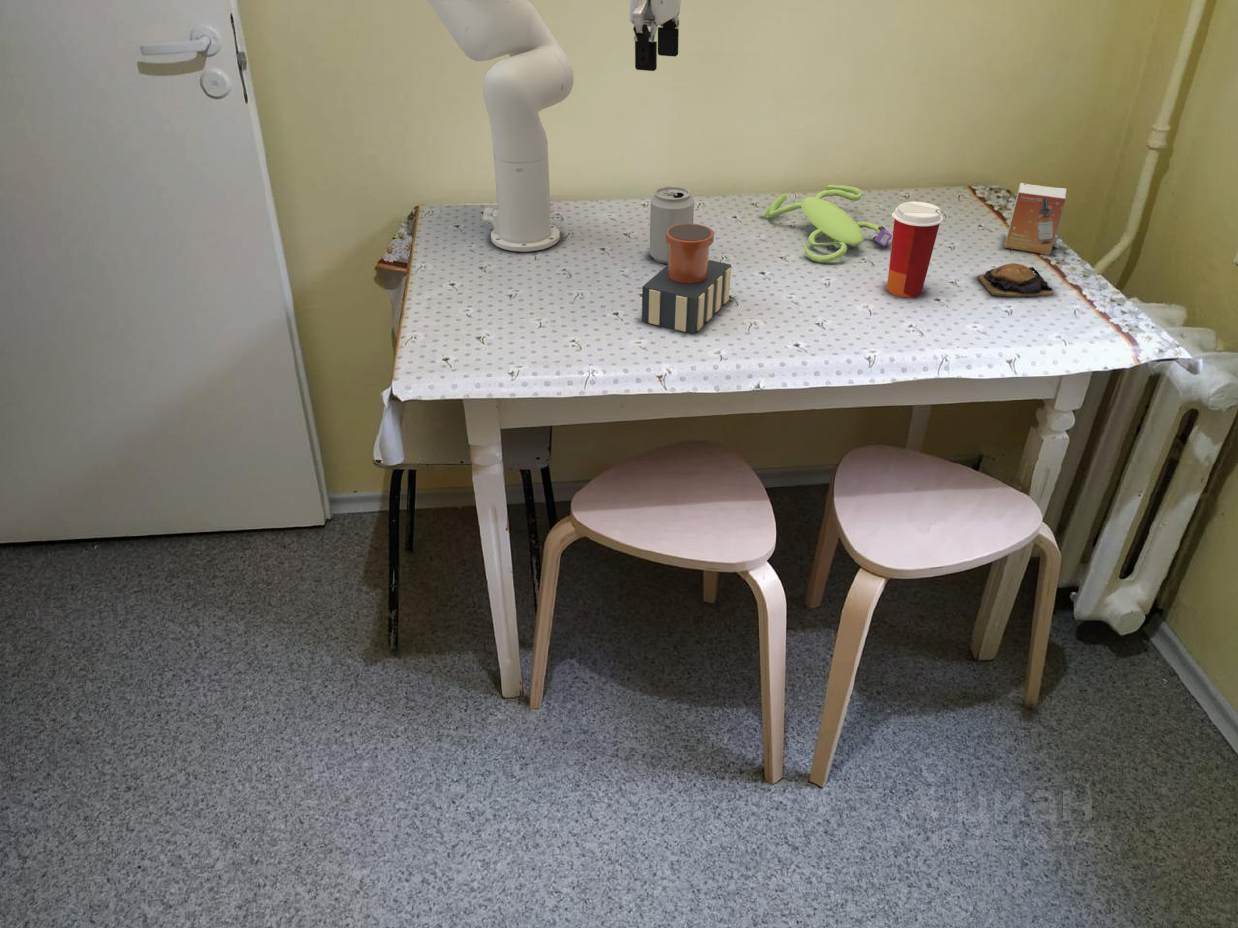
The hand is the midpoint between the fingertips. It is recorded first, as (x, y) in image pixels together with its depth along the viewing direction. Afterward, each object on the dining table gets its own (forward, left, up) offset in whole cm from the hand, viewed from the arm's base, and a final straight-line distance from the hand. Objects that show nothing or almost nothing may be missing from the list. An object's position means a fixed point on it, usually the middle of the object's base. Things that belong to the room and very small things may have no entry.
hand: (657, 62), depth 150 cm
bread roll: (+56, +23, -35) cm, 70 cm away
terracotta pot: (+11, -10, -28) cm, 32 cm away
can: (0, +7, -35) cm, 35 cm away
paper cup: (+40, +13, -35) cm, 55 cm away
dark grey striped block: (+11, -10, -34) cm, 37 cm away
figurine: (+21, +31, -35) cm, 51 cm away
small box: (+55, +42, -35) cm, 78 cm away
